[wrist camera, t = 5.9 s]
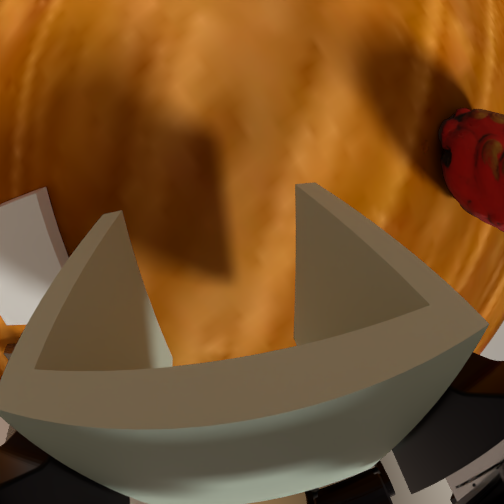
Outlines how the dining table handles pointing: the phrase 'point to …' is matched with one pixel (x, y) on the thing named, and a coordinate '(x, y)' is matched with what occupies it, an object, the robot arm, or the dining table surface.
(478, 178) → the red clay folk toy
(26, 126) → the dining table surface
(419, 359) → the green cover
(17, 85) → the dining table surface
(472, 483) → the robot arm
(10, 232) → the grey ceramic tile
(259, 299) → the dining table surface
